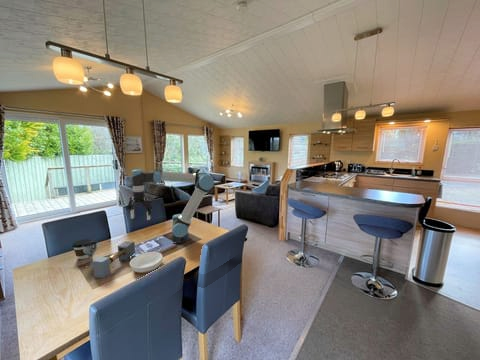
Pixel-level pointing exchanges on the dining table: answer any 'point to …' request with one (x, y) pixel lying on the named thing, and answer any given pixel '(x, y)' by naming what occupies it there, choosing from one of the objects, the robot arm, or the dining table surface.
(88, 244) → the wine glass
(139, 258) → the bowl
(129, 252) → the sleeve
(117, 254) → the tube
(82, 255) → the coffee cup
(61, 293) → the dining table surface
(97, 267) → the socket
